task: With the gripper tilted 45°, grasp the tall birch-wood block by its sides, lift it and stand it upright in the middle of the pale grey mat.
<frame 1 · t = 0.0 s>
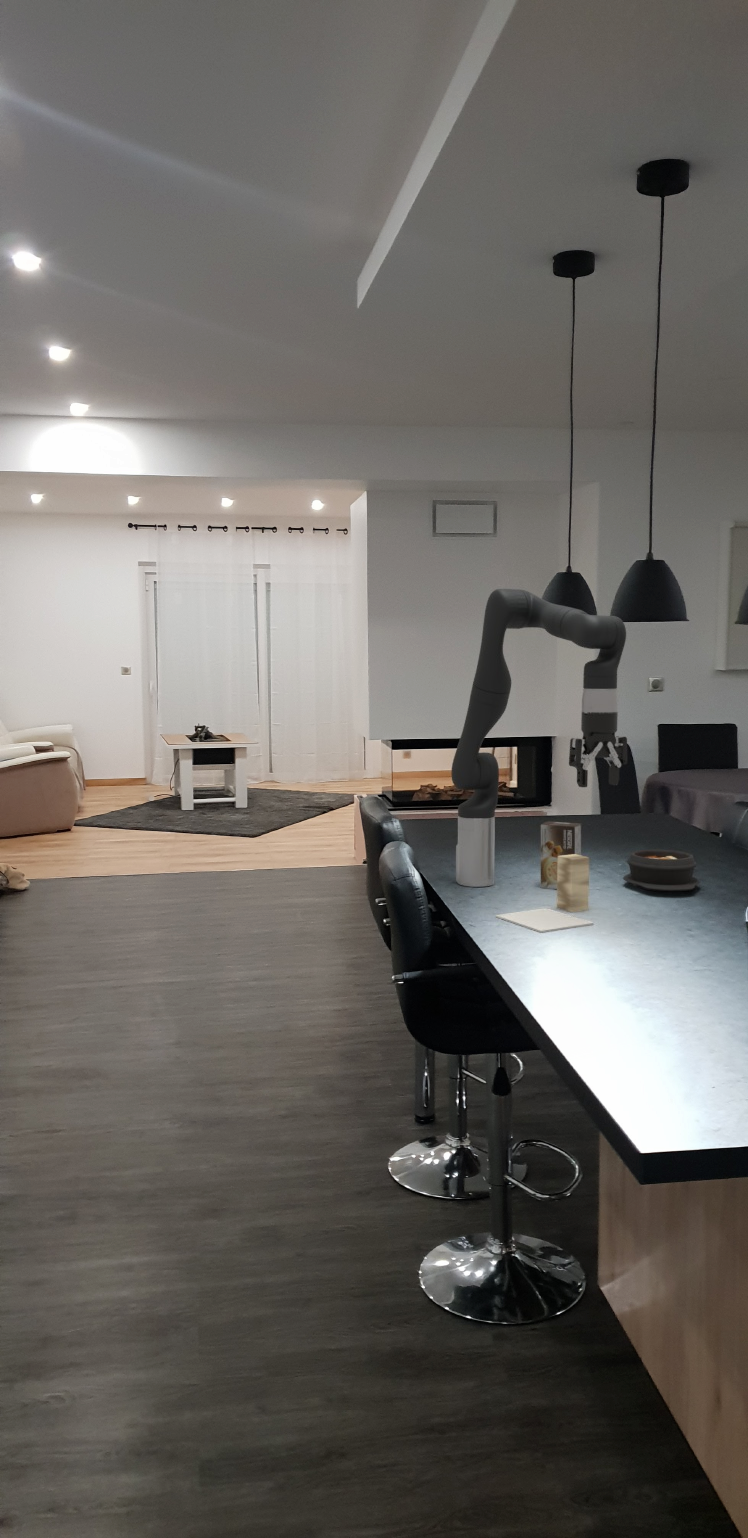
hand: (598, 785, 228), 29 cm above the kitchen island, tool pointing down, fingers open, 8 cm apart
felt mat: (543, 920, 230), on the kitchen island
casserole: (660, 888, 265), on the kitchen island
coffee box: (560, 888, 265), on the kitchen island
birch block: (572, 908, 241), on the kitchen island
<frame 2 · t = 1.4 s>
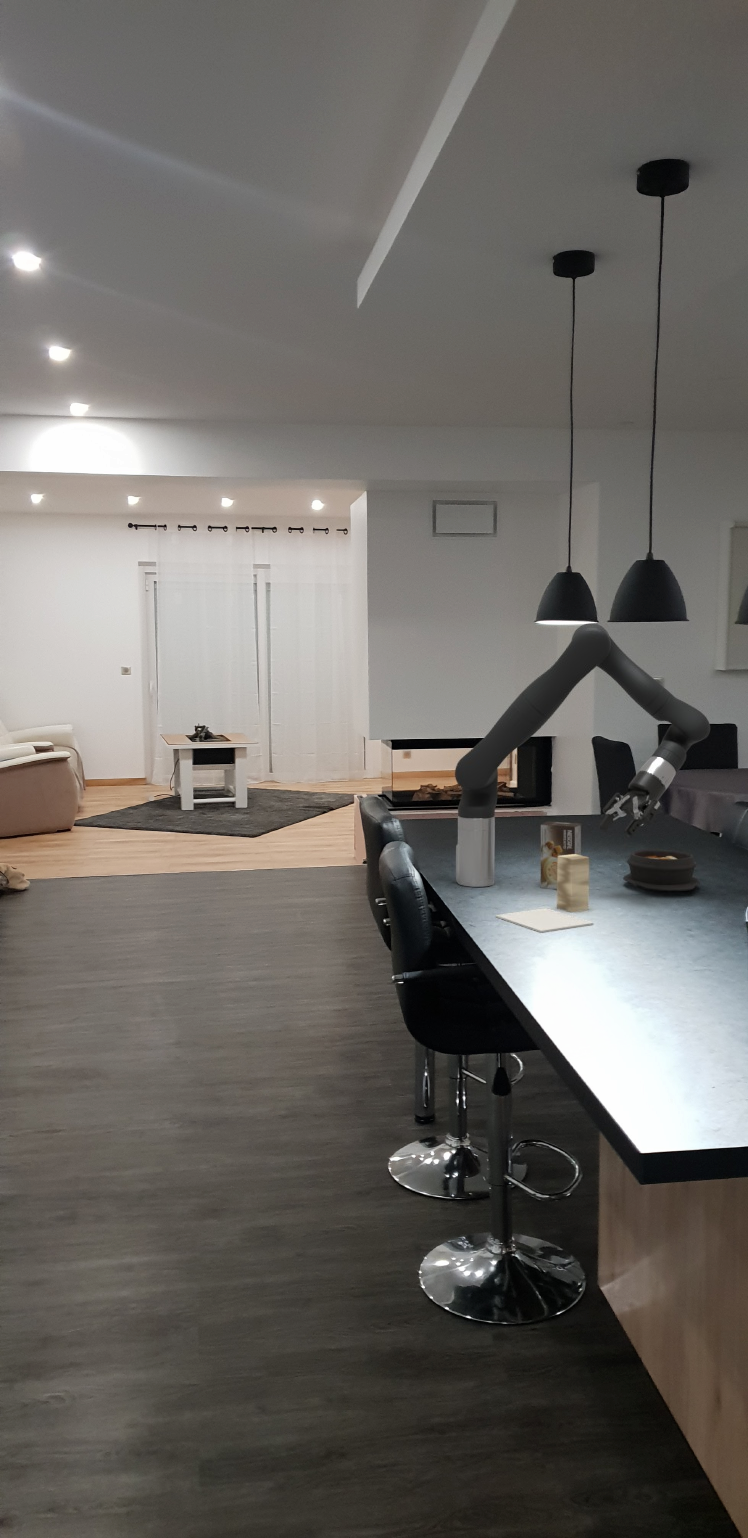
hand: (614, 832, 245), 17 cm above the kitchen island, tool tilted 45°, fingers open, 8 cm apart
nothing on the kitchen island moved.
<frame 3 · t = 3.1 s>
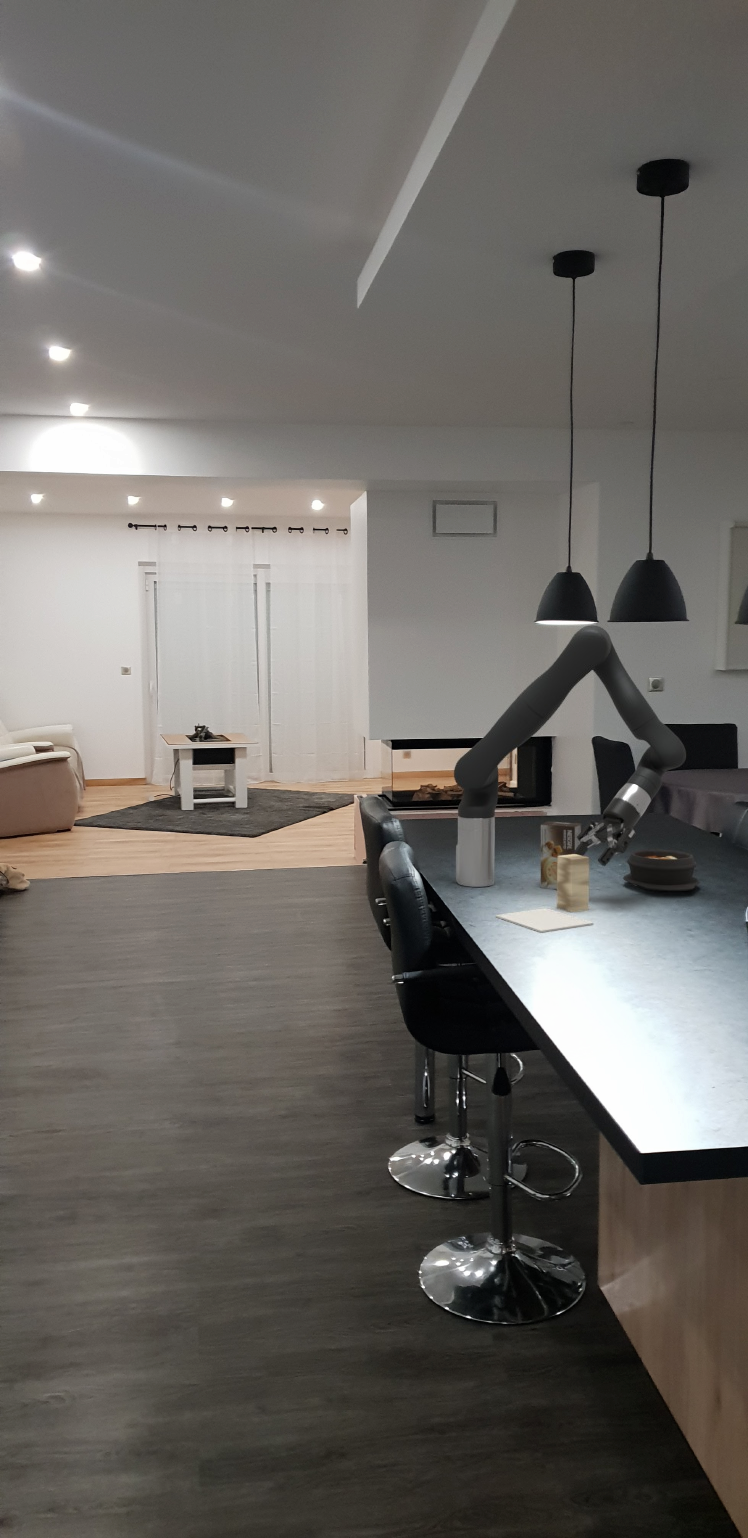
hand: (588, 860, 242), 11 cm above the kitchen island, tool tilted 45°, fingers open, 8 cm apart
nothing on the kitchen island moved.
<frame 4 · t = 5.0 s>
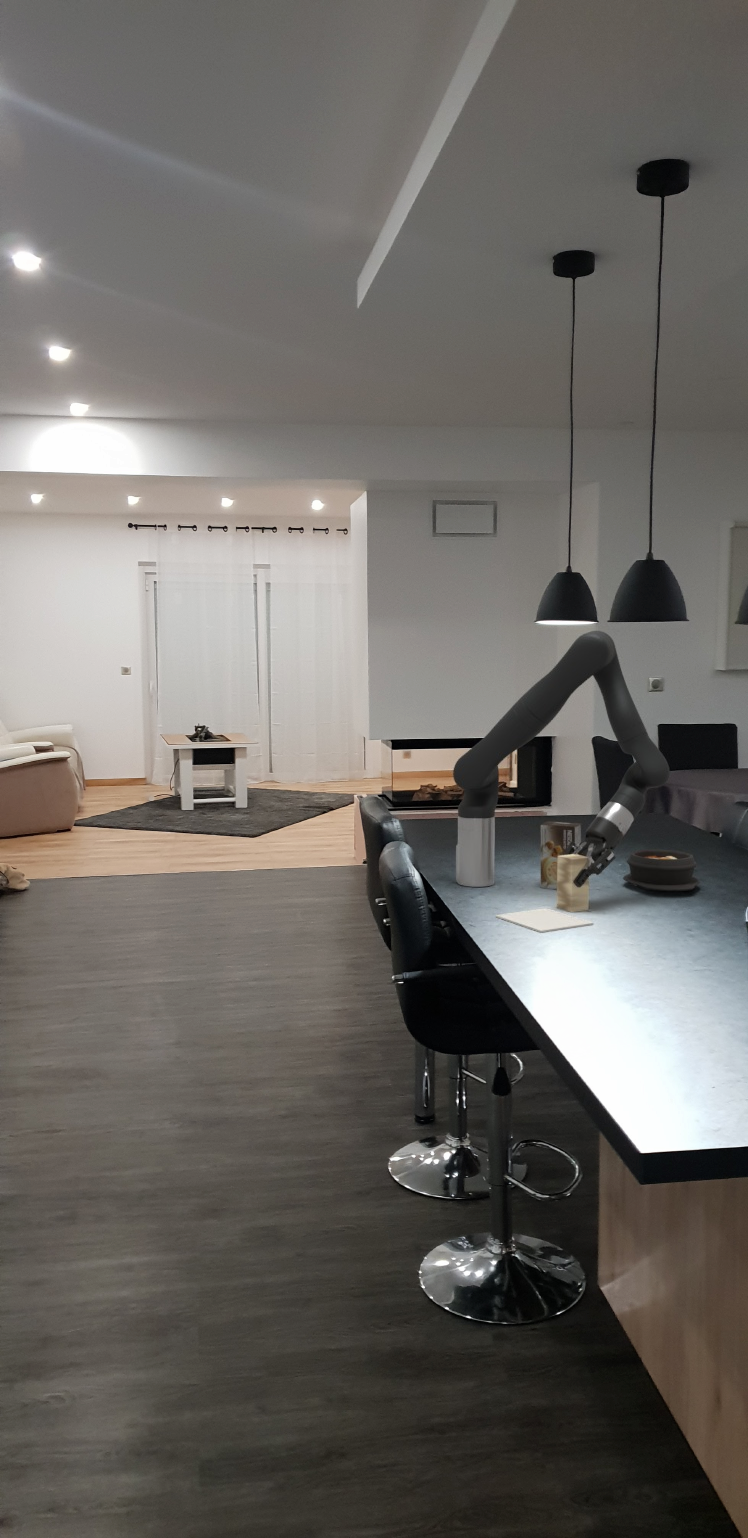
hand: (568, 882, 240), 6 cm above the kitchen island, tool tilted 45°, fingers closed on birch block, 5 cm apart
birch block: (572, 908, 241), on the kitchen island, touching gripper
everything else where it was.
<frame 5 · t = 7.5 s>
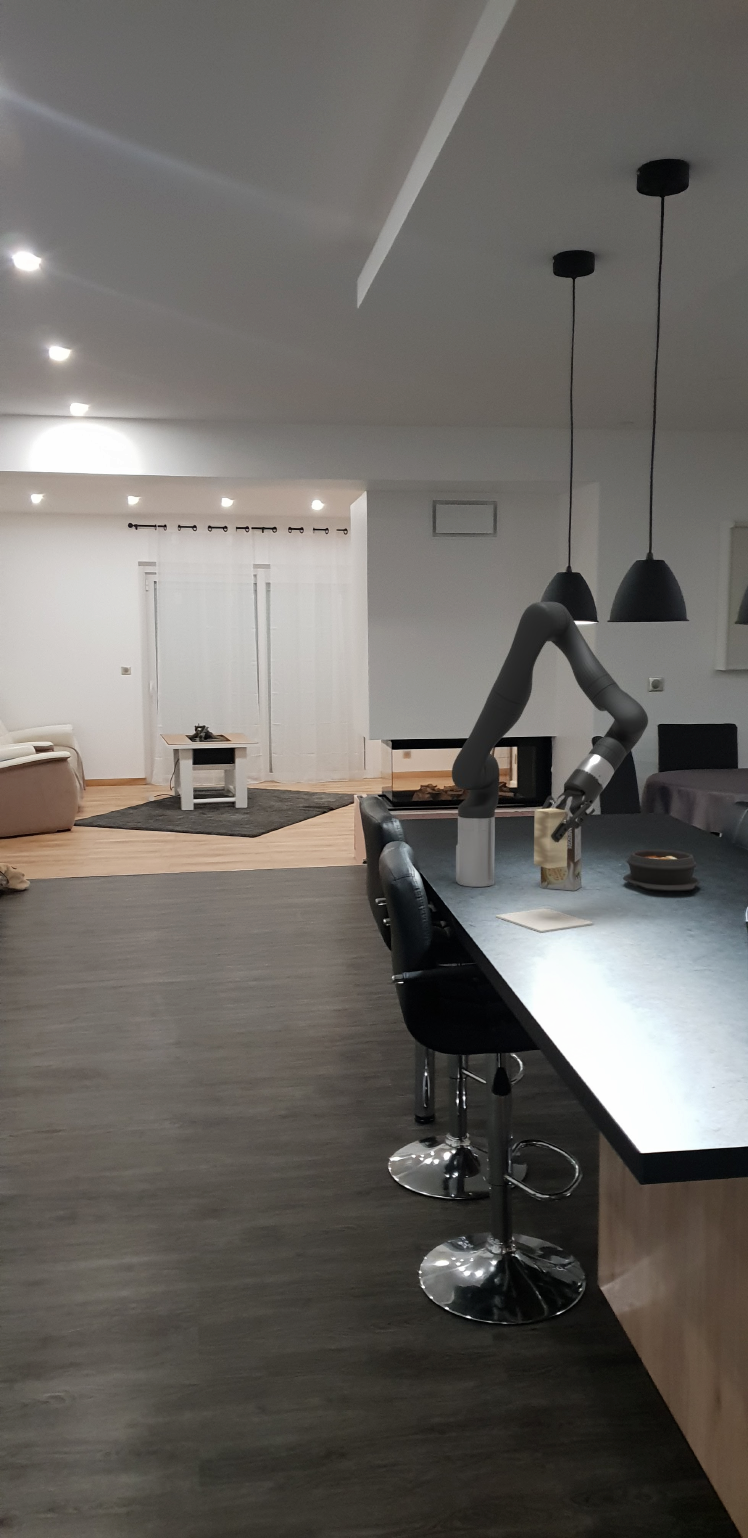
hand: (545, 837, 229), 18 cm above the kitchen island, tool tilted 45°, fingers closed on birch block, 5 cm apart
birch block: (550, 865, 230), point 12 cm above the kitchen island, touching gripper
everything else where it was.
when the fingers open (7 cm above the kitchen island, at t = 10.1 s): birch block stays where it is, resting on felt mat.
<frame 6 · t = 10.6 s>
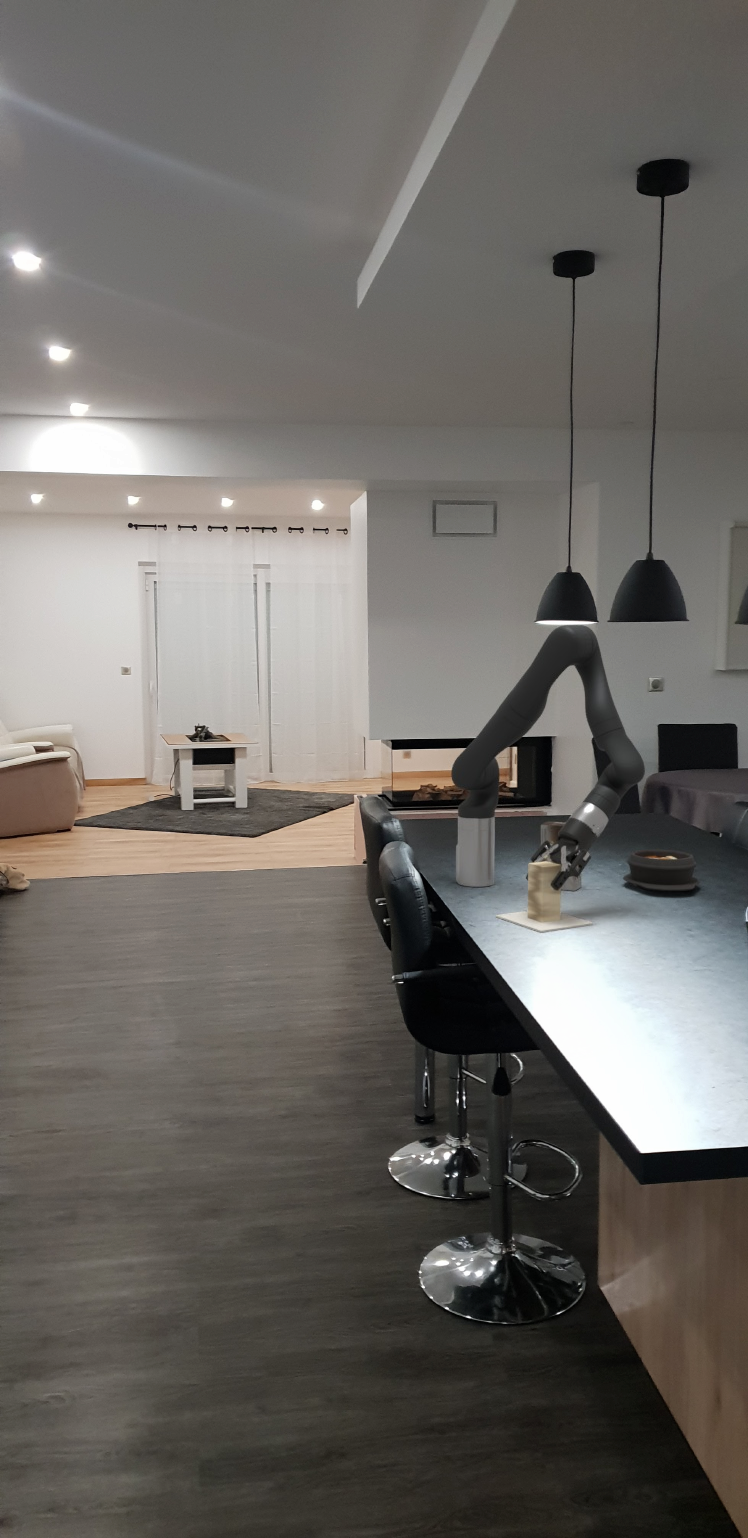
hand: (541, 884, 229), 8 cm above the kitchen island, tool tilted 45°, fingers open, 8 cm apart
birch block: (543, 918, 230), resting on felt mat
everything else where it was.
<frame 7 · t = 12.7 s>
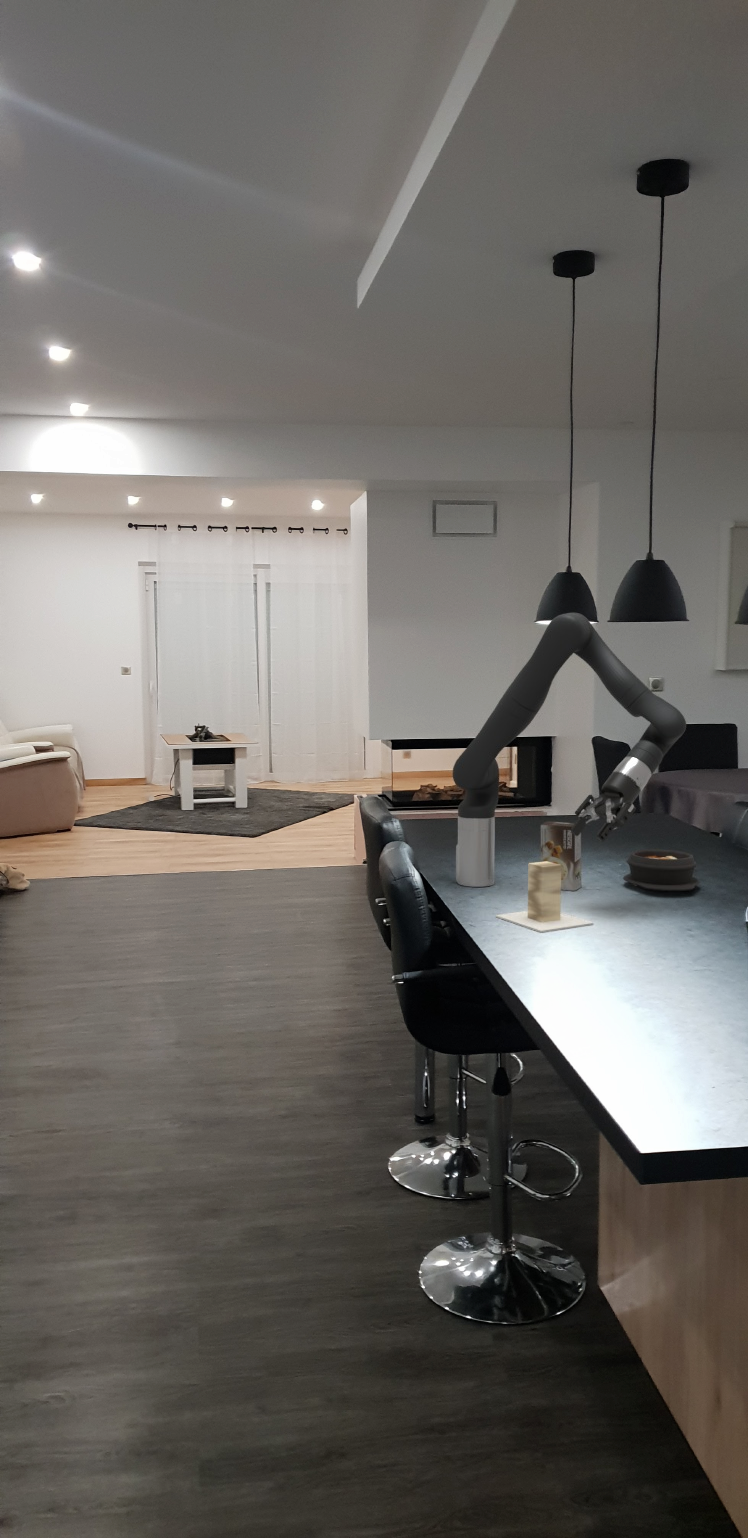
hand: (586, 836, 234), 18 cm above the kitchen island, tool tilted 45°, fingers open, 8 cm apart
nothing on the kitchen island moved.
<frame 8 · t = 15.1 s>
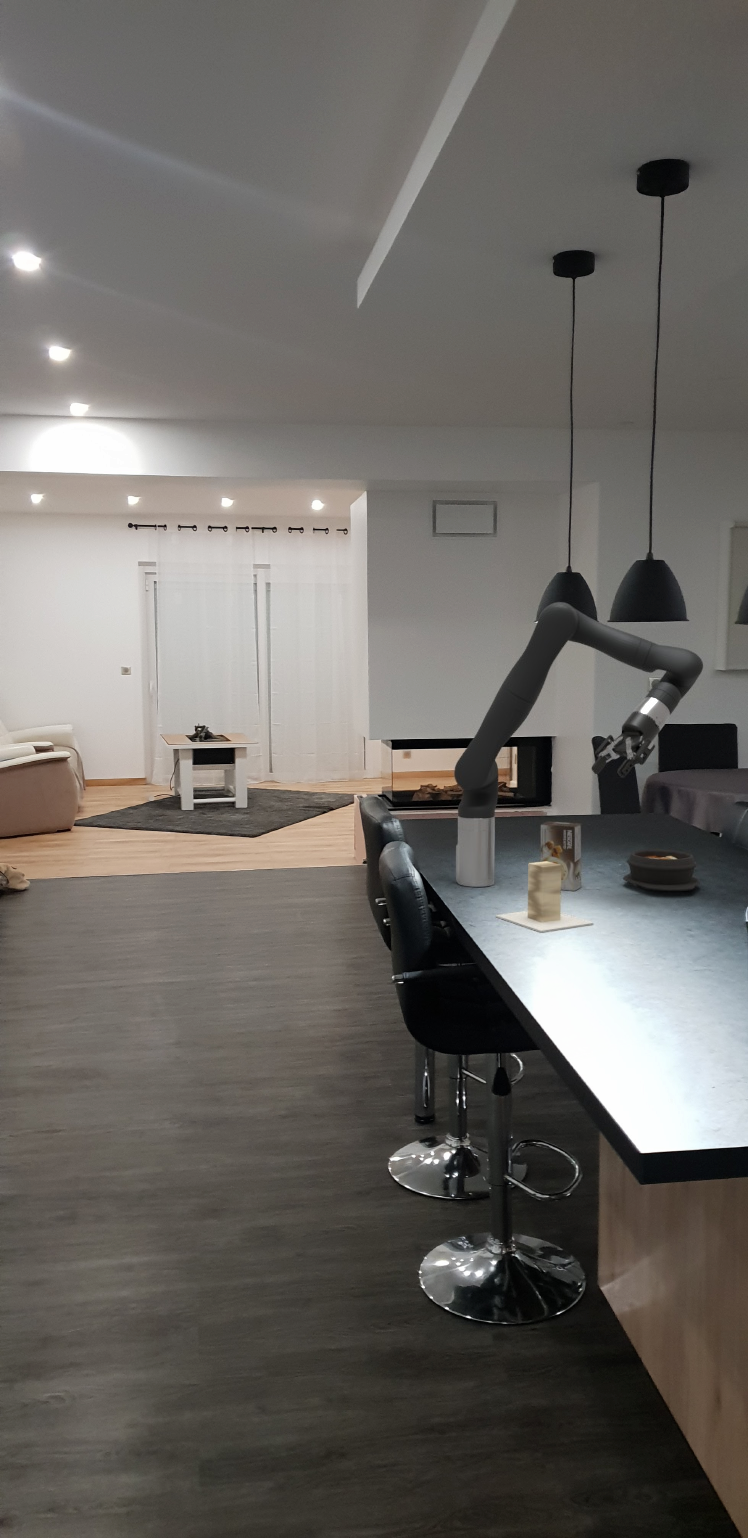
hand: (607, 773, 240), 31 cm above the kitchen island, tool tilted 45°, fingers open, 8 cm apart
nothing on the kitchen island moved.
at the end: birch block inside the target area on the felt mat (0.1 cm from its centre), point 0.4 cm above the felt mat's base; birch block tilted 0°; the gripper is holding nothing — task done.
